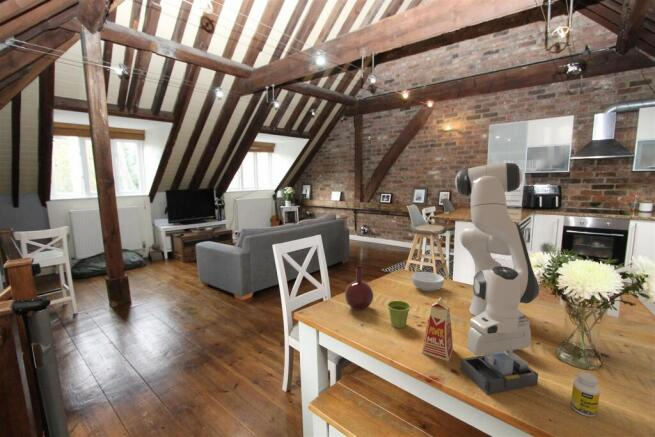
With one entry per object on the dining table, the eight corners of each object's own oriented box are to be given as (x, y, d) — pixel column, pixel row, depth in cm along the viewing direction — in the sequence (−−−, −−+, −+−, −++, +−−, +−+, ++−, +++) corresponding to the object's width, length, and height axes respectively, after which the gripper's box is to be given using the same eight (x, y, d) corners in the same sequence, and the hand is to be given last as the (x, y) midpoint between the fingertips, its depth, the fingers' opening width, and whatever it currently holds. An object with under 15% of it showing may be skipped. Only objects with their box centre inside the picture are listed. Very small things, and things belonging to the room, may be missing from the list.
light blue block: (492, 359, 100) (493, 345, 99) (512, 375, 92) (513, 359, 91) (484, 361, 99) (485, 346, 98) (503, 376, 91) (504, 361, 91)
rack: (460, 368, 100) (461, 351, 99) (505, 361, 104) (507, 344, 103) (486, 394, 88) (488, 375, 87) (537, 384, 92) (538, 366, 91)
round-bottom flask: (341, 304, 150) (341, 264, 147) (366, 301, 153) (366, 262, 150) (350, 316, 137) (350, 273, 134) (377, 312, 141) (378, 270, 138)
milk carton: (448, 361, 104) (451, 305, 101) (421, 353, 109) (422, 299, 106) (453, 348, 112) (456, 295, 109) (427, 341, 116) (429, 290, 114)
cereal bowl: (439, 297, 157) (439, 284, 156) (407, 291, 166) (407, 278, 165) (446, 287, 171) (447, 274, 170) (416, 281, 180) (417, 269, 179)
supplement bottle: (577, 416, 80) (581, 381, 79) (566, 401, 85) (570, 368, 84) (601, 419, 79) (606, 384, 78) (588, 403, 84) (592, 371, 83)
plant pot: (410, 331, 124) (411, 310, 123) (386, 329, 126) (387, 309, 125) (409, 320, 133) (409, 301, 132) (387, 318, 135) (387, 299, 134)
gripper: (521, 312, 99) (517, 352, 101) (465, 319, 94) (463, 361, 96) (538, 321, 93) (534, 363, 95) (479, 330, 88) (476, 374, 90)
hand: (498, 362), depth 95 cm, fingers closed on light blue block, 3 cm apart
